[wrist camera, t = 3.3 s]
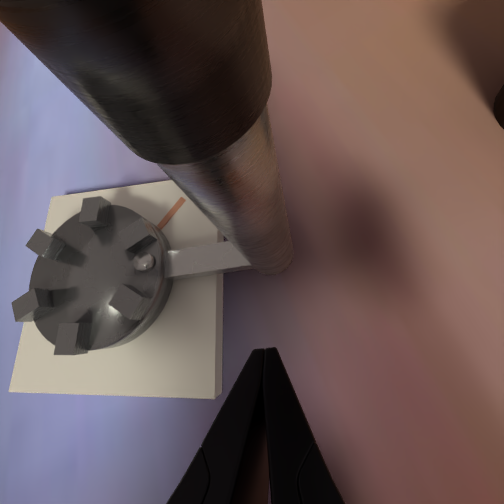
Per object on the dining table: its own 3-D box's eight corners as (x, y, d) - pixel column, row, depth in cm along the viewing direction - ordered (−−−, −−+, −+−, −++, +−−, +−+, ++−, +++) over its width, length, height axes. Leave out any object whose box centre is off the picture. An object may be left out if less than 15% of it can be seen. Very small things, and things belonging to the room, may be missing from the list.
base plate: (222, 392, 17) (214, 399, 16) (29, 387, 20) (7, 392, 19) (224, 183, 22) (218, 172, 20) (66, 204, 25) (50, 196, 23)
